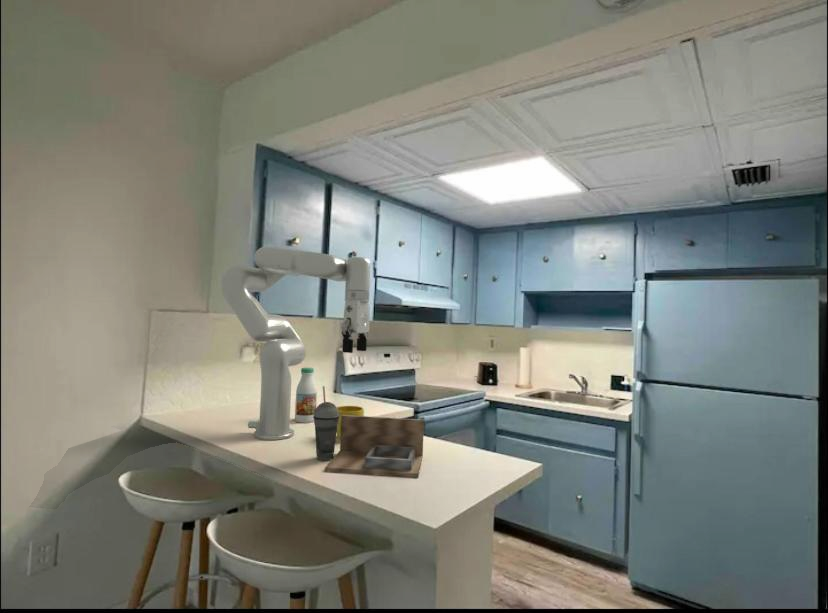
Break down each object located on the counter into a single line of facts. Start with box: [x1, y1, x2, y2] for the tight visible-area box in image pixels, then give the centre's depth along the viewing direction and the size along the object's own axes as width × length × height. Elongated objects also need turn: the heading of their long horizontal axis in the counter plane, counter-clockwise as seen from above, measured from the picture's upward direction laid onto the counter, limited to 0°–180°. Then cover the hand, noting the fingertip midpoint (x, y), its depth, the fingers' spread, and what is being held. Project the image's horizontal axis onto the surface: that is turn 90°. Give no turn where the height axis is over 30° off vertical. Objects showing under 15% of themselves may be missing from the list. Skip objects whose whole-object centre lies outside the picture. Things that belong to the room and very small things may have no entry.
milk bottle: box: [294, 367, 318, 424], centre depth 168 cm, size 8×8×20 cm
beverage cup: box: [313, 385, 339, 462], centre depth 124 cm, size 7×7×20 cm
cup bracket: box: [324, 415, 425, 478], centre depth 121 cm, size 24×16×11 cm, turn 85°
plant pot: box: [336, 405, 365, 441], centre depth 146 cm, size 10×10×10 cm
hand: (354, 351), depth 138 cm, fingers open, 9 cm apart
